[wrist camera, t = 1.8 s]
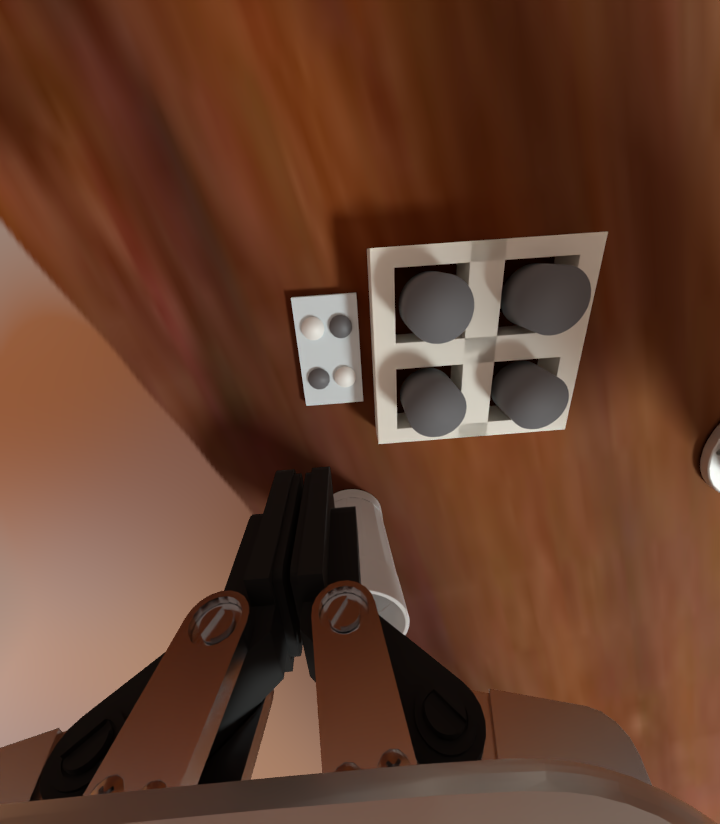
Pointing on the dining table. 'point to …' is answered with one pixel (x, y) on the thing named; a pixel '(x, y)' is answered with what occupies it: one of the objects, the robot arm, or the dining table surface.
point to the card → (328, 347)
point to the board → (473, 329)
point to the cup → (376, 557)
